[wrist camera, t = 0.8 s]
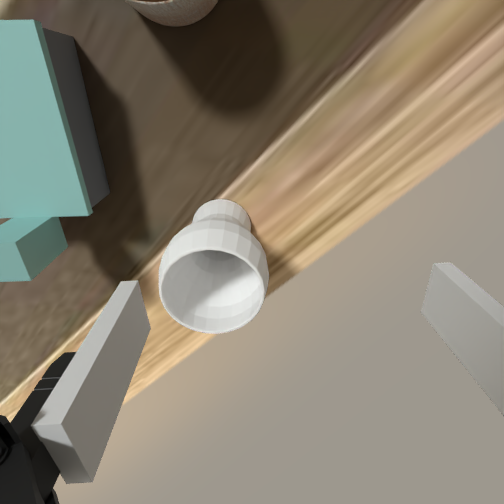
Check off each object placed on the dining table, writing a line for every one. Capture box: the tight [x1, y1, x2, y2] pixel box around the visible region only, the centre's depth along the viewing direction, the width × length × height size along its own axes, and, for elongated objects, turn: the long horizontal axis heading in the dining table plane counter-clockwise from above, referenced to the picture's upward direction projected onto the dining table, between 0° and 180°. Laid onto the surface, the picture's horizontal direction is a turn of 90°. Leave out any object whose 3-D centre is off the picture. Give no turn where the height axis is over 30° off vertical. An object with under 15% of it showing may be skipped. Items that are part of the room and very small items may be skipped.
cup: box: [159, 199, 269, 334], centre depth 34 cm, size 11×11×15 cm
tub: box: [42, 28, 110, 208], centre depth 32 cm, size 16×11×6 cm
